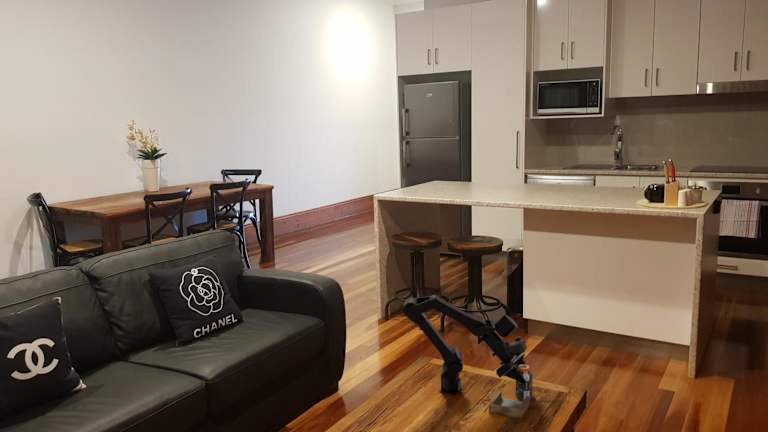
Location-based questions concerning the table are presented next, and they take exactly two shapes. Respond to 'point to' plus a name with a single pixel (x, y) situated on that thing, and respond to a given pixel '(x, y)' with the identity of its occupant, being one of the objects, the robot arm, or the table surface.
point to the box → (508, 406)
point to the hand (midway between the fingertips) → (527, 379)
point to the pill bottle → (526, 388)
